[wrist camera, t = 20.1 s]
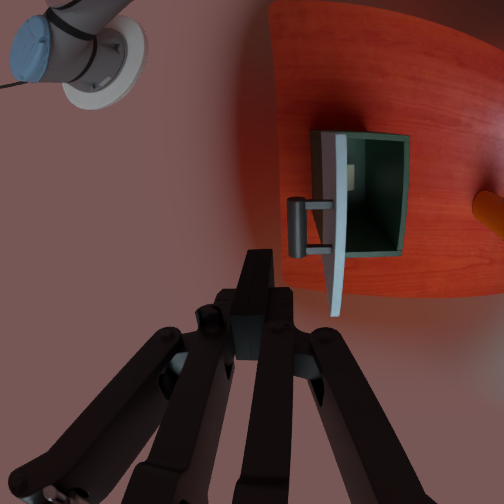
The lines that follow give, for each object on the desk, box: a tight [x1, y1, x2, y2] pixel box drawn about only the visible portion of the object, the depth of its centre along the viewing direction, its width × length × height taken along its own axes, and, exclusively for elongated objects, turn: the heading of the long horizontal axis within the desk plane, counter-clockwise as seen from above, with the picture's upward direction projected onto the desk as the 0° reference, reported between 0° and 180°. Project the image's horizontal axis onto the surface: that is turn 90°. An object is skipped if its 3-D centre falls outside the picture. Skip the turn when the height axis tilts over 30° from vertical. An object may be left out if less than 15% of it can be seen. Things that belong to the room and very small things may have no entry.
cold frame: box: [310, 130, 410, 258], centre depth 40 cm, size 11×16×19 cm
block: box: [347, 163, 354, 191], centre depth 45 cm, size 4×4×4 cm
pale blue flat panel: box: [287, 132, 347, 317], centre depth 27 cm, size 12×16×5 cm
